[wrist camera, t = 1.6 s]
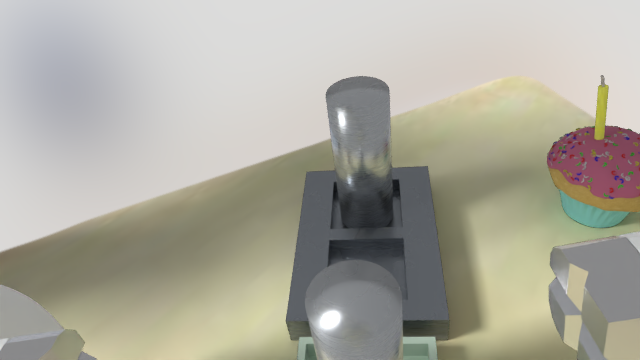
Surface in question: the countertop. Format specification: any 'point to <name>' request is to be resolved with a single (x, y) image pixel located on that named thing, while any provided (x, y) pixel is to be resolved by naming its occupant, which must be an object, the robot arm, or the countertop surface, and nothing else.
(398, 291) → the billet
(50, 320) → the milk bottle
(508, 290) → the countertop surface
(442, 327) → the pallet
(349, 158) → the seated billet
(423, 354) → the tray
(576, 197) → the cupcake
